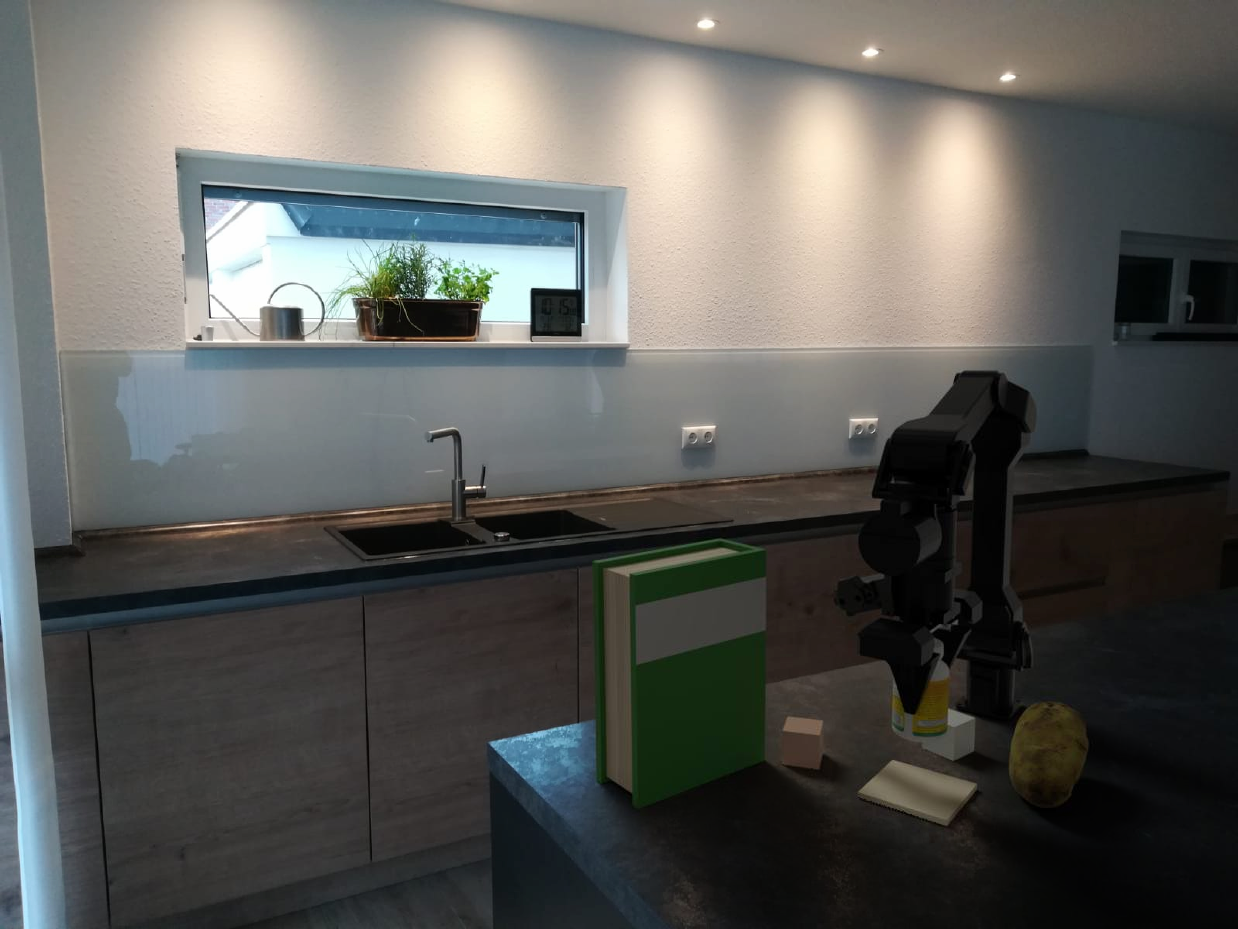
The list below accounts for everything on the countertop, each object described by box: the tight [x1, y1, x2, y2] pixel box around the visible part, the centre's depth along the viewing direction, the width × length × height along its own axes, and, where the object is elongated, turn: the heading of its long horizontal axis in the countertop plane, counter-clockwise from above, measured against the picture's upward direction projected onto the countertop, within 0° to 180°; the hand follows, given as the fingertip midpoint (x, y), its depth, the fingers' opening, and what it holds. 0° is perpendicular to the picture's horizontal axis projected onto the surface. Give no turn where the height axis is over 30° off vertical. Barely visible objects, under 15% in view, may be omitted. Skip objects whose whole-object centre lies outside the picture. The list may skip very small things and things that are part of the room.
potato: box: [1008, 700, 1090, 809], centre depth 92 cm, size 8×13×8 cm, turn 132°
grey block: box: [921, 708, 976, 762], centre depth 101 cm, size 4×4×4 cm
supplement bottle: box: [891, 638, 951, 743], centre depth 90 cm, size 5×5×10 cm
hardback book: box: [592, 538, 767, 810], centre depth 96 cm, size 18×7×24 cm, turn 125°
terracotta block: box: [781, 716, 824, 770], centre depth 99 cm, size 4×4×4 cm
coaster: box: [857, 759, 978, 827], centre depth 91 cm, size 9×9×1 cm
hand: (920, 704), depth 90 cm, fingers closed on supplement bottle, 5 cm apart
